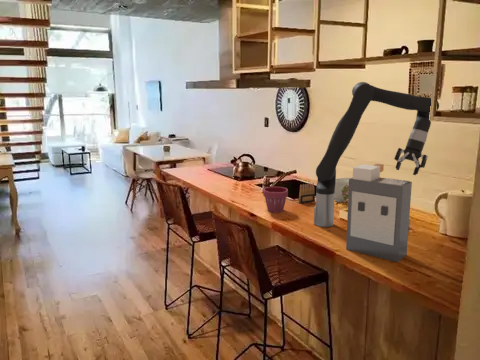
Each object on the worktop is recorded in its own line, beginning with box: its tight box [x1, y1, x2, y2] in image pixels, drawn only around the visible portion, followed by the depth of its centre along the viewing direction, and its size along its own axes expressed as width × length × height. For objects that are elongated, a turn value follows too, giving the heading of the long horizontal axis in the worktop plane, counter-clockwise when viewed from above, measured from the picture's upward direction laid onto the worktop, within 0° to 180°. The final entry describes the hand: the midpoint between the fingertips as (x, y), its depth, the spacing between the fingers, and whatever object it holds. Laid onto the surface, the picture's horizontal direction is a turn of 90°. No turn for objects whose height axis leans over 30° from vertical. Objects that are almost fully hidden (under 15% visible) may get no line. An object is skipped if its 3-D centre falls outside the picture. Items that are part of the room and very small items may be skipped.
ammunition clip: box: [298, 182, 316, 204], centre depth 263 cm, size 11×2×12 cm, turn 114°
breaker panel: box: [345, 177, 413, 263], centre depth 181 cm, size 23×11×32 cm, turn 49°
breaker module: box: [352, 163, 385, 182], centre depth 185 cm, size 8×19×5 cm, turn 139°
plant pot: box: [263, 186, 289, 214], centre depth 246 cm, size 14×14×13 cm
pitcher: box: [334, 177, 351, 203], centre depth 263 cm, size 11×18×14 cm, turn 122°
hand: (405, 172), depth 204 cm, fingers open, 8 cm apart
